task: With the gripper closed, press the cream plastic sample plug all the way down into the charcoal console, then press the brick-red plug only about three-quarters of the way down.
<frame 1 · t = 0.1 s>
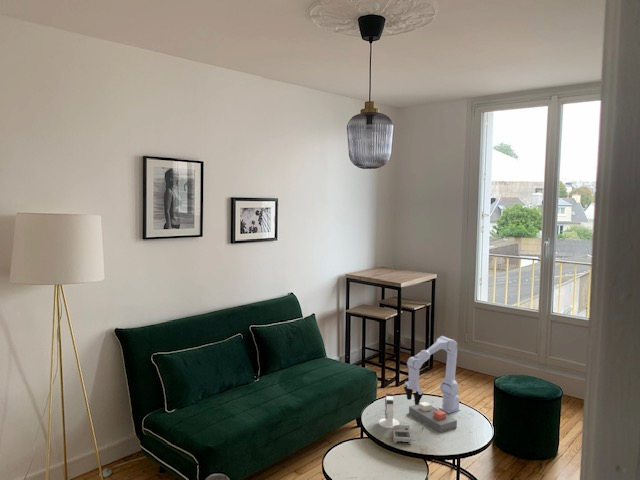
hand: (413, 402, 274), 10 cm above the table, fingers open, 7 cm apart
red plug: (439, 415, 268), point 5 cm above the table, slide at 0.0 cm
sample plug: (425, 407, 279), point 5 cm above the table, slide at 0.0 cm
white post stand: (389, 423, 270), on the table
console: (432, 420, 274), on the table
handheld gaming device: (401, 438, 254), on the table
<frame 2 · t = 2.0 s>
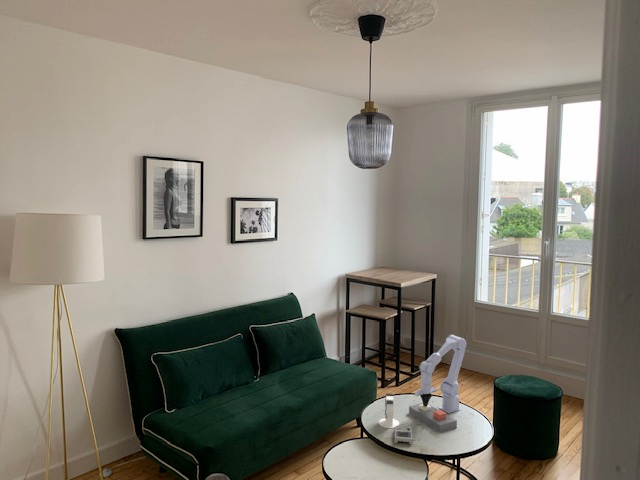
hand: (425, 405, 279), 6 cm above the table, fingers closed, pressing on sample plug
sample plug: (425, 409, 279), point 4 cm above the table, slide at 1.1 cm, touching gripper
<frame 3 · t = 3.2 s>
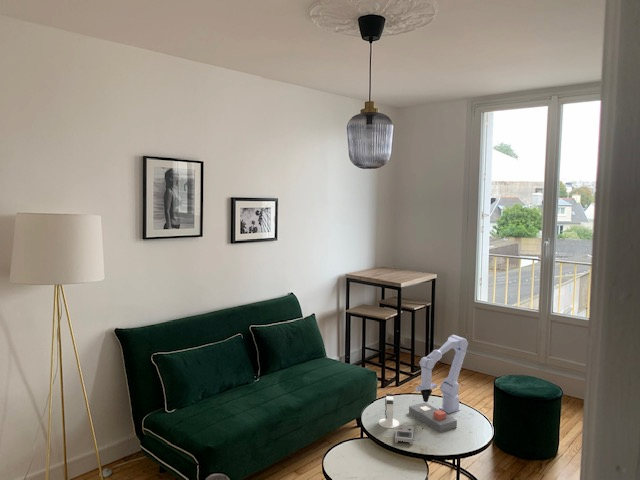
hand: (425, 401, 279), 8 cm above the table, fingers closed
sample plug: (425, 411, 279), point 2 cm above the table, slide at 2.6 cm
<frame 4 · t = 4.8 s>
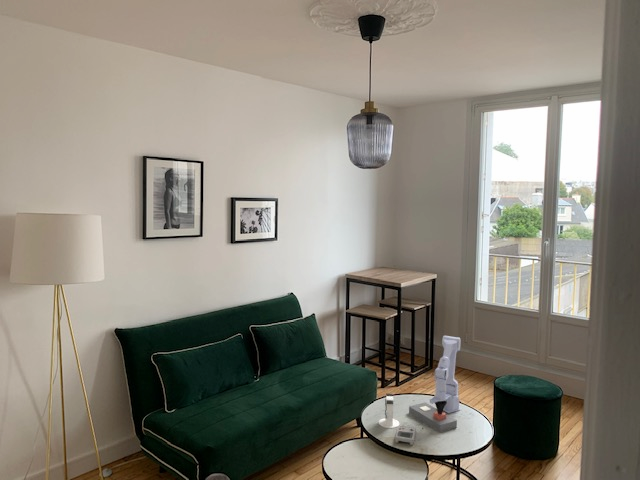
hand: (439, 413, 268), 6 cm above the table, fingers closed, pressing on red plug
red plug: (439, 416, 268), point 4 cm above the table, slide at 0.7 cm, touching gripper
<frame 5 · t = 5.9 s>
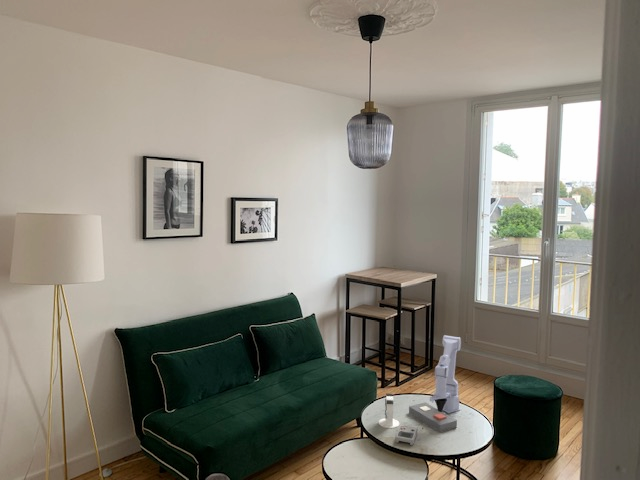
hand: (439, 411, 268), 8 cm above the table, fingers closed
red plug: (439, 419, 269), point 3 cm above the table, slide at 2.0 cm
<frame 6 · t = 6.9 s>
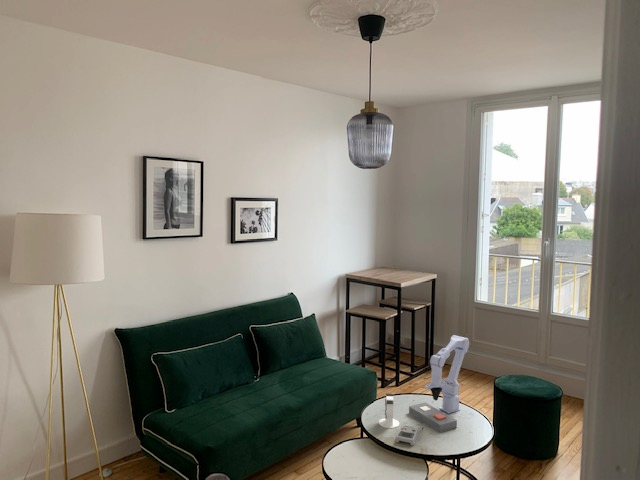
hand: (435, 399, 276), 10 cm above the table, fingers closed
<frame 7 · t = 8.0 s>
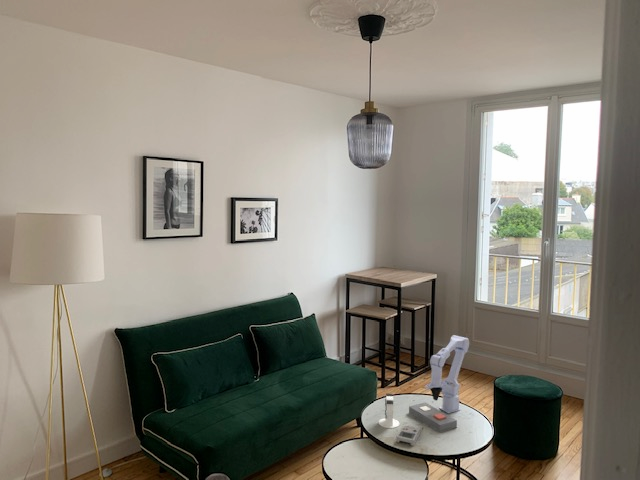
hand: (435, 399, 276), 10 cm above the table, fingers closed
at the end: sample plug slide at 2.6 cm; red plug slide at 2.0 cm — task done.
